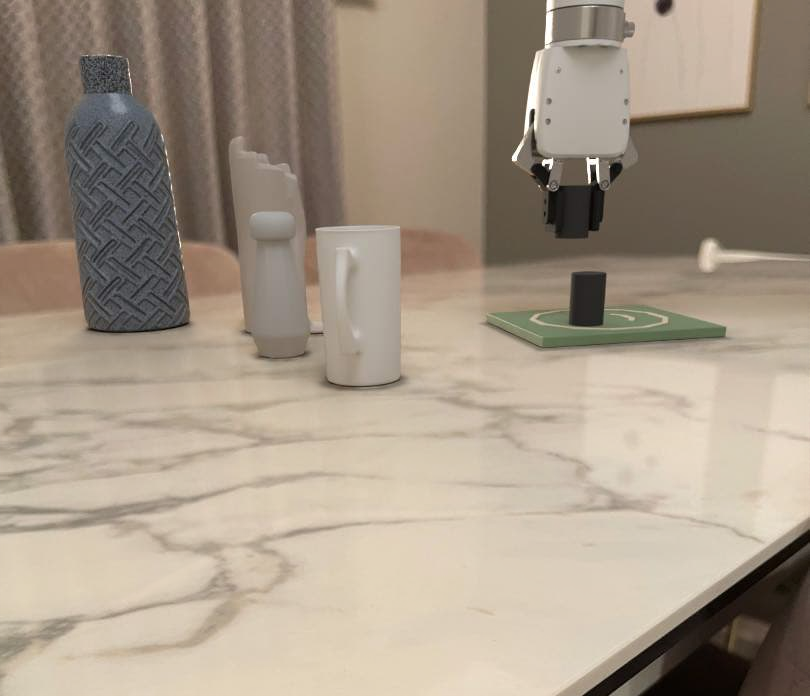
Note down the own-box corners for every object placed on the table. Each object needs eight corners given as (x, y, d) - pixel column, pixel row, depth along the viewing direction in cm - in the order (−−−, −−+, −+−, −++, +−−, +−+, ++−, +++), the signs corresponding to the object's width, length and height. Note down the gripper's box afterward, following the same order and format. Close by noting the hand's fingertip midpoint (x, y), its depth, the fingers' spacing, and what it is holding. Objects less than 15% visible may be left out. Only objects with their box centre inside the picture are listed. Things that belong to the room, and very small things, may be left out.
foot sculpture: (363, 332, 93) (356, 132, 86) (239, 335, 94) (220, 135, 86) (368, 322, 100) (361, 135, 92) (251, 324, 100) (235, 138, 93)
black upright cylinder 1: (580, 236, 93) (583, 185, 91) (593, 238, 90) (597, 185, 88) (549, 237, 92) (551, 185, 90) (562, 239, 89) (565, 185, 87)
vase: (136, 336, 94) (95, 46, 83) (64, 328, 100) (18, 57, 89) (212, 320, 104) (184, 58, 93) (142, 315, 110) (109, 68, 99)
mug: (336, 369, 75) (329, 225, 71) (410, 371, 74) (407, 225, 69) (301, 395, 66) (290, 233, 62) (385, 398, 65) (380, 232, 60)
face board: (642, 313, 103) (643, 303, 103) (725, 336, 87) (727, 325, 86) (486, 321, 99) (486, 311, 99) (542, 347, 83) (542, 336, 83)
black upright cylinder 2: (594, 320, 92) (597, 270, 90) (608, 325, 89) (612, 273, 87) (563, 322, 91) (566, 272, 89) (576, 327, 88) (579, 275, 86)
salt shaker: (324, 351, 83) (316, 210, 78) (287, 361, 79) (276, 212, 74) (278, 347, 86) (267, 210, 81) (240, 356, 82) (226, 212, 77)
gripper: (642, 41, 89) (626, 227, 96) (491, 38, 85) (487, 231, 93) (679, 30, 82) (659, 231, 89) (516, 26, 79) (509, 235, 86)
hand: (571, 229), depth 91 cm, fingers closed on black upright cylinder 1, 3 cm apart
